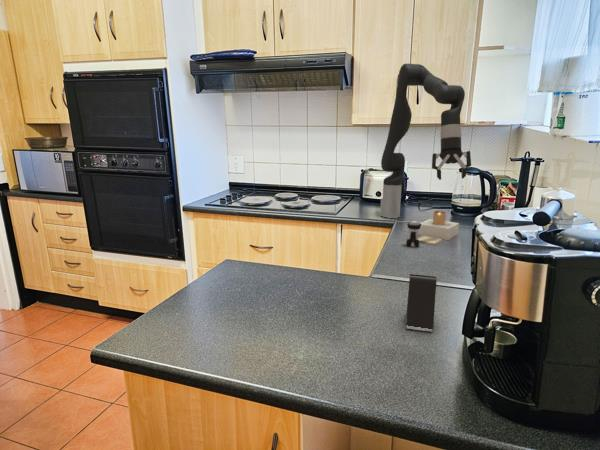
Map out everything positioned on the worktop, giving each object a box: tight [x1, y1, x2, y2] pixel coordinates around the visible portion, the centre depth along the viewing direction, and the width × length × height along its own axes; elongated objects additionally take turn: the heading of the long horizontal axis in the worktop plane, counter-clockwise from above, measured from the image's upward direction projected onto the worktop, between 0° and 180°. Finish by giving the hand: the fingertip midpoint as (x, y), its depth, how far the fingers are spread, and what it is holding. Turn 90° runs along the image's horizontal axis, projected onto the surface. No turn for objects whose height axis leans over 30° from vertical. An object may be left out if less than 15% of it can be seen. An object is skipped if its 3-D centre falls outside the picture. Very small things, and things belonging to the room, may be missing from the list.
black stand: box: [401, 220, 421, 248], centre depth 153 cm, size 7×5×10 cm
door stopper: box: [405, 273, 437, 330], centre depth 92 cm, size 9×6×12 cm, turn 164°
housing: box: [418, 218, 460, 241], centre depth 171 cm, size 13×13×5 cm
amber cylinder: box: [432, 210, 447, 225], centre depth 170 cm, size 5×5×10 cm
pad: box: [418, 236, 443, 246], centre depth 161 cm, size 8×8×1 cm
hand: (451, 179), depth 153 cm, fingers open, 8 cm apart
